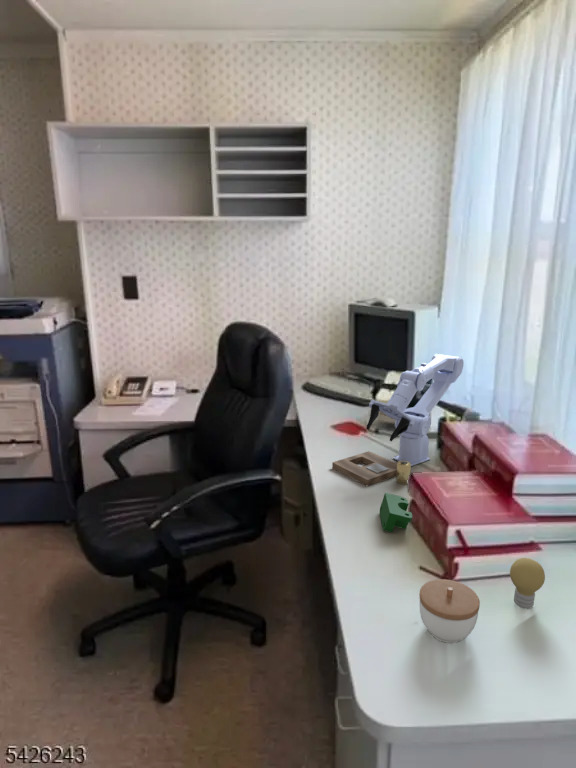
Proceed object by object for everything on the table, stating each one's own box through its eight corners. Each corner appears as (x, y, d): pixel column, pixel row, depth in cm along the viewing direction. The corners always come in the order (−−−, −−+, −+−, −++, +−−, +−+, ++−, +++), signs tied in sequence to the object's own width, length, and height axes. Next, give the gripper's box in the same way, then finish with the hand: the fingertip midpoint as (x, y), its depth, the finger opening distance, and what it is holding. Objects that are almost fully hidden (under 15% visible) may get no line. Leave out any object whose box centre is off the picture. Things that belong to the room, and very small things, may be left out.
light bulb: (512, 590, 116) (517, 548, 113) (544, 603, 112) (550, 559, 109) (501, 606, 111) (507, 562, 108) (535, 619, 107) (541, 574, 104)
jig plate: (368, 456, 185) (369, 450, 184) (404, 472, 172) (404, 466, 172) (332, 468, 176) (332, 461, 175) (367, 486, 163) (367, 478, 163)
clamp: (401, 545, 140) (413, 524, 135) (378, 539, 140) (389, 518, 135) (401, 508, 150) (412, 487, 144) (379, 503, 150) (390, 481, 144)
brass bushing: (402, 477, 169) (403, 459, 168) (412, 482, 166) (413, 463, 164) (393, 480, 167) (394, 462, 165) (403, 485, 164) (404, 466, 162)
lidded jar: (435, 605, 111) (438, 564, 109) (486, 631, 104) (490, 588, 101) (406, 632, 104) (409, 589, 101) (459, 661, 96) (463, 616, 94)
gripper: (379, 383, 169) (358, 415, 162) (423, 404, 164) (403, 437, 157) (377, 396, 174) (356, 427, 168) (419, 416, 169) (400, 449, 163)
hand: (379, 433), depth 163 cm, fingers open, 7 cm apart
